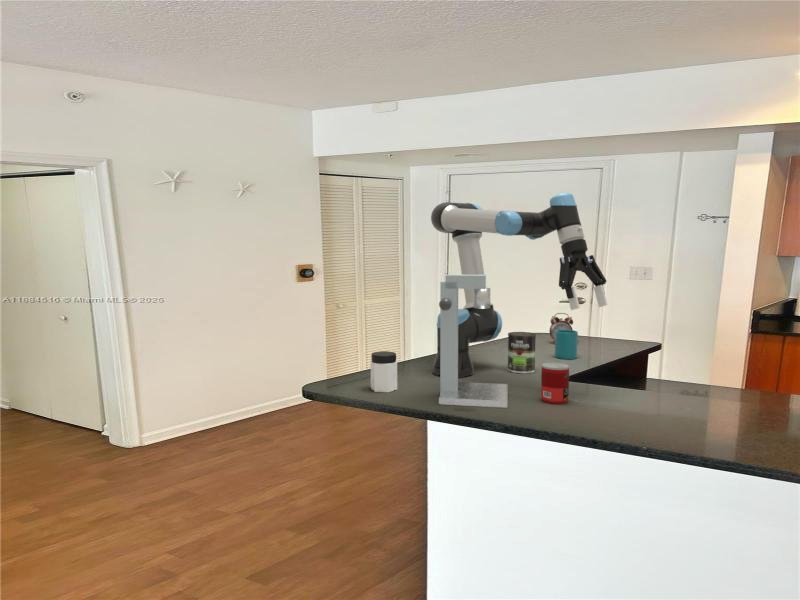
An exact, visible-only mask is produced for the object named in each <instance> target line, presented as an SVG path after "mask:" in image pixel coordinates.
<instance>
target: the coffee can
mask: <svg viewBox="0 0 800 600" xmlns="http://www.w3.org/2000/svg"><path fill="white" fill-rule="evenodd" d="M507 336H508V337H507V338H508V339H507V340H508V341H507V371H508V370H509V371H508V372H510V371H511V372H510V373H514V374H532V373H535V371H536V337H537V334H536V333H534V332H528V331H512V332H508V333H507Z"/></svg>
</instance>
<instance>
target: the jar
mask: <svg viewBox="0 0 800 600" xmlns="http://www.w3.org/2000/svg"><path fill="white" fill-rule="evenodd" d="M370 357H371V358H370V359H371V360H370V389H371V390H372V391H373V390H374V391H373V392H375V393H391V392H395V391H398V361H397V353H396V352H395V351H390V350H389V351H386V350H383V351H381V350H380V351H374V352H372V353H371V356H370ZM394 390H395V391H394Z"/></svg>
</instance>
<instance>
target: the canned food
mask: <svg viewBox="0 0 800 600" xmlns="http://www.w3.org/2000/svg"><path fill="white" fill-rule="evenodd" d="M540 373H541V375H540V376H541V377H540V379H541V381H540V382H541V383H540V386H541V387H540V398H541V400H542V402H544V403H546V402H547V404H551V403H553V404H552V405H564V404H567V403H568V401H569V389H570V365H569V364H566V363H561V362H545V363H542V364H541V372H540ZM563 403H564V404H563Z"/></svg>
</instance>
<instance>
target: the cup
mask: <svg viewBox="0 0 800 600" xmlns="http://www.w3.org/2000/svg"><path fill="white" fill-rule="evenodd" d="M578 336H579V332H578V330H573V329H572V330H556V331H555V343H554V357H555V358H556V359H560V360H575V359H577V358H578V346H579V338H578Z"/></svg>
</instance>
